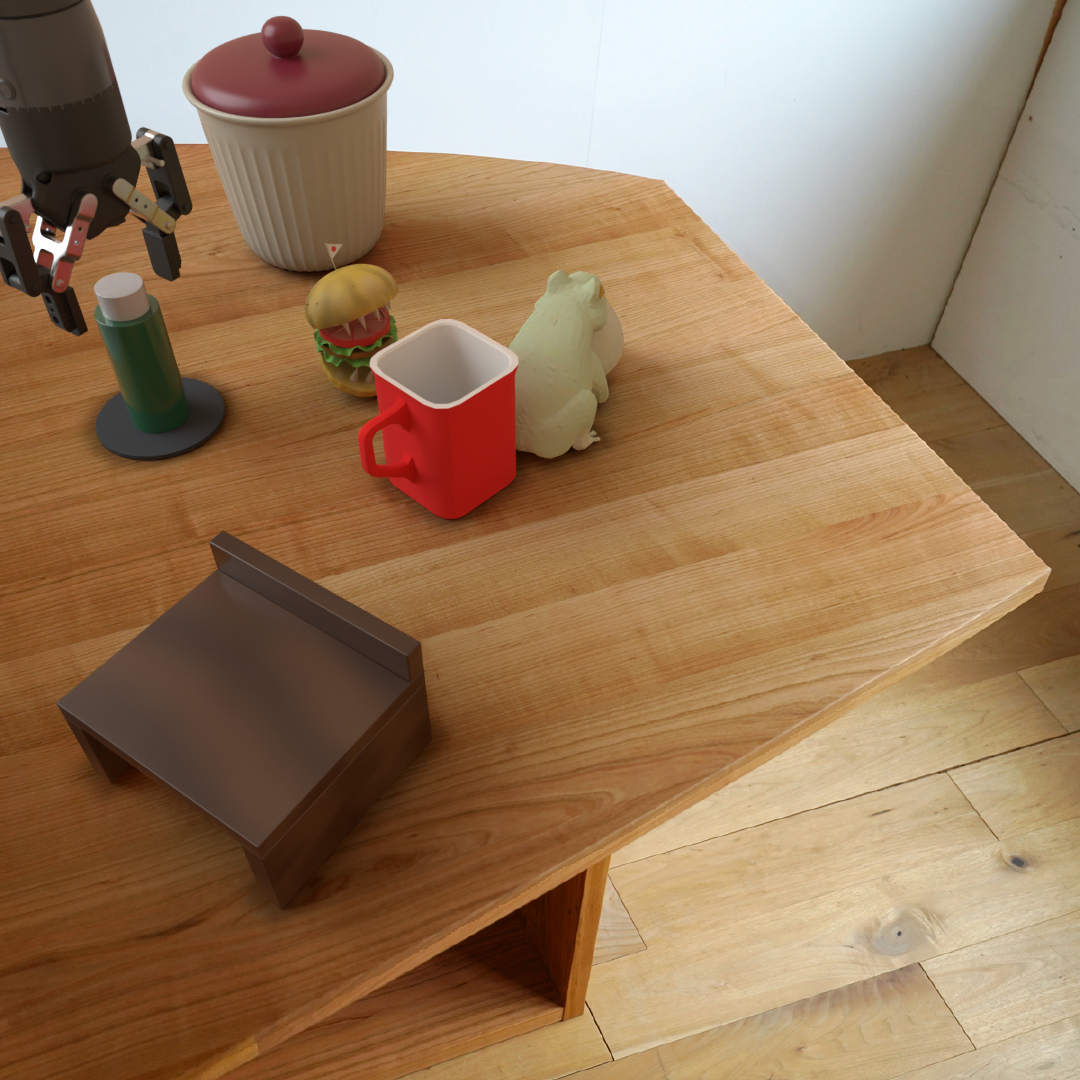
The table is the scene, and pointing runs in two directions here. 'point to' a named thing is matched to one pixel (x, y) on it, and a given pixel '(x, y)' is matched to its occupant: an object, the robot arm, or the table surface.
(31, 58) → the robot arm
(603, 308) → the figurine
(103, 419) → the coaster
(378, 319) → the hamburger
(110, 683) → the shelf
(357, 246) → the canister
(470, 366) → the mug
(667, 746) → the table surface
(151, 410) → the bottle
